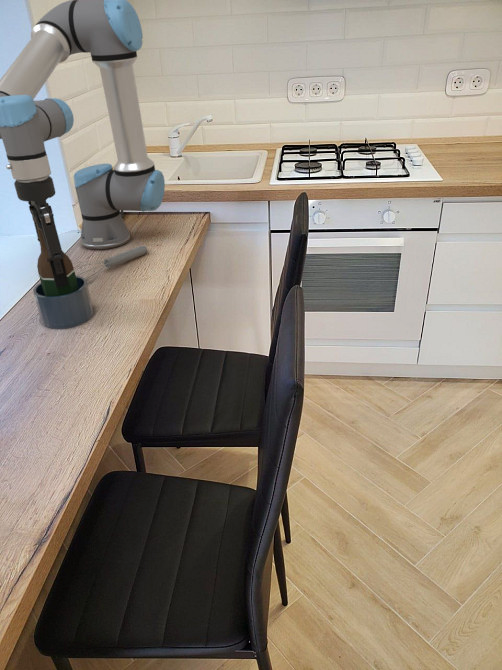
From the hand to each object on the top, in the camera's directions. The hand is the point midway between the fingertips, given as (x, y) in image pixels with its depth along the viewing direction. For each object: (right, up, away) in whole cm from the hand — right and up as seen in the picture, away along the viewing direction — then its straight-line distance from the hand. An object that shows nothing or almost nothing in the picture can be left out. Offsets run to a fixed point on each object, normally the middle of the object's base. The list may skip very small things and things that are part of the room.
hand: (58, 279), depth 120 cm
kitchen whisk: (+3, +5, +27) cm, 27 cm away
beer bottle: (0, -8, +5) cm, 9 cm away
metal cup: (0, -8, +5) cm, 10 cm away
